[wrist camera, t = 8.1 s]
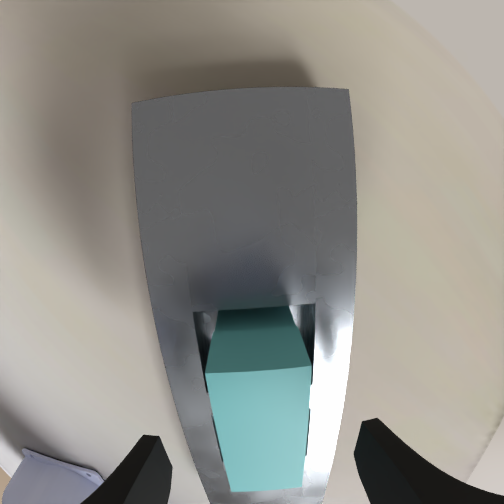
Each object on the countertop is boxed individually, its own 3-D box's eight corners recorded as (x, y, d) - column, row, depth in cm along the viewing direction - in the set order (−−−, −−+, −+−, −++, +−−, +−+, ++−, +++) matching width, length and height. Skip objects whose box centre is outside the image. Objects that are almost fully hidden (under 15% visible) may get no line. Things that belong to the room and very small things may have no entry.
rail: (216, 484, 17) (215, 514, 14) (155, 118, 11) (131, 103, 9) (314, 477, 17) (321, 506, 14) (326, 108, 12) (348, 89, 9)
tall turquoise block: (288, 414, 14) (301, 486, 9) (233, 418, 14) (231, 491, 9) (288, 299, 13) (311, 365, 8) (218, 304, 13) (204, 373, 8)
